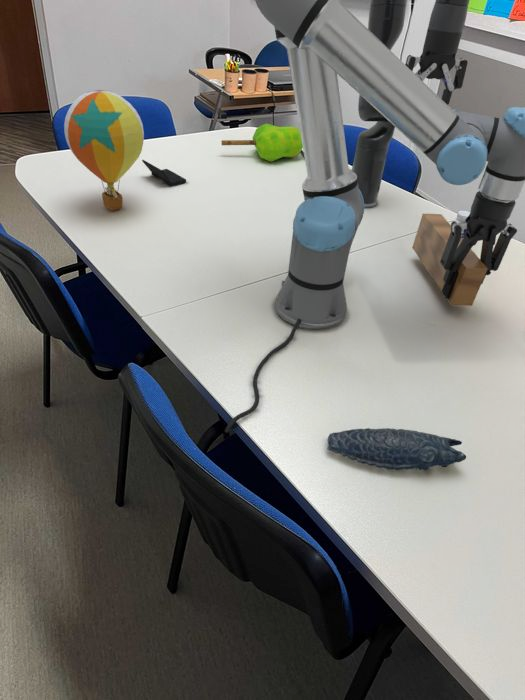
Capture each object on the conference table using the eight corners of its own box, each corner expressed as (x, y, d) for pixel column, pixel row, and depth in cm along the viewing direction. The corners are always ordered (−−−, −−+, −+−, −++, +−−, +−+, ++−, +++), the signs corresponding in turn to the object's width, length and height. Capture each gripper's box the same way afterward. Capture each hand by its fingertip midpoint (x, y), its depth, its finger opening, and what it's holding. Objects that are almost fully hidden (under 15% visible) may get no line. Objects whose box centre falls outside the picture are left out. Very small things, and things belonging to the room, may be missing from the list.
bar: (472, 305, 114) (487, 268, 108) (451, 305, 113) (466, 267, 107) (430, 248, 134) (441, 214, 128) (412, 247, 133) (422, 213, 127)
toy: (64, 203, 145) (44, 85, 127) (127, 189, 156) (117, 79, 137) (97, 229, 134) (80, 105, 116) (162, 213, 145) (156, 96, 126)
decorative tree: (218, 120, 186) (299, 120, 191) (218, 150, 192) (297, 149, 197) (225, 135, 172) (312, 134, 177) (225, 166, 178) (309, 165, 184)
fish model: (464, 484, 79) (474, 462, 76) (325, 466, 80) (330, 444, 77) (456, 450, 84) (465, 429, 81) (326, 434, 85) (331, 412, 82)
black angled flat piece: (190, 175, 164) (173, 153, 156) (179, 193, 163) (161, 172, 155) (166, 170, 170) (147, 148, 162) (155, 188, 169) (136, 167, 161)
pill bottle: (444, 245, 142) (454, 215, 137) (446, 237, 146) (456, 207, 141) (464, 249, 141) (475, 219, 135) (465, 241, 145) (476, 212, 139)
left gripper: (529, 190, 105) (486, 287, 120) (446, 185, 102) (413, 285, 117) (549, 205, 99) (501, 306, 114) (461, 201, 97) (424, 304, 111)
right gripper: (468, 27, 119) (447, 103, 129) (409, 23, 117) (392, 100, 127) (483, 32, 113) (459, 112, 123) (420, 28, 111) (402, 109, 121)
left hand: (457, 295), depth 115 cm, fingers closed on bar, 5 cm apart
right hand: (425, 106), depth 125 cm, fingers open, 8 cm apart
